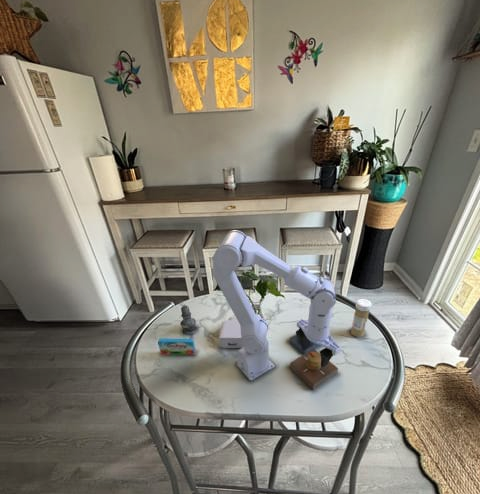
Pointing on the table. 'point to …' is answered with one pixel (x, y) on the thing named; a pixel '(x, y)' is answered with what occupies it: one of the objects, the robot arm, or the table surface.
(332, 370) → the brown square block
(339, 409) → the table surface
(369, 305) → the sprinkles bottle
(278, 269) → the robot arm
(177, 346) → the blue printed cardboard box
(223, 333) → the charger
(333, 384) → the table surface
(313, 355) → the dial
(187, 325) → the grey stone statuette
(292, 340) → the button box
